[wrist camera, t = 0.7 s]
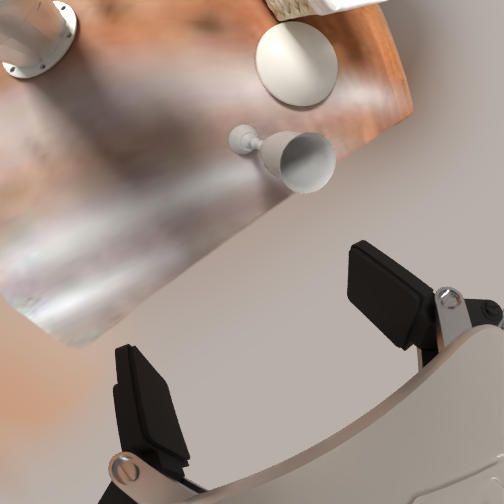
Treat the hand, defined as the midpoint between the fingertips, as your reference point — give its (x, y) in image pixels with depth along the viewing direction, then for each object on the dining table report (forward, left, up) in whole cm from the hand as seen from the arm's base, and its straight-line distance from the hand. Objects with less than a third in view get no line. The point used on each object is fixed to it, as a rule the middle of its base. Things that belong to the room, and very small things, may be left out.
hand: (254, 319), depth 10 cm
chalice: (+2, +14, -35) cm, 37 cm away
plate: (-9, +27, -34) cm, 44 cm away
